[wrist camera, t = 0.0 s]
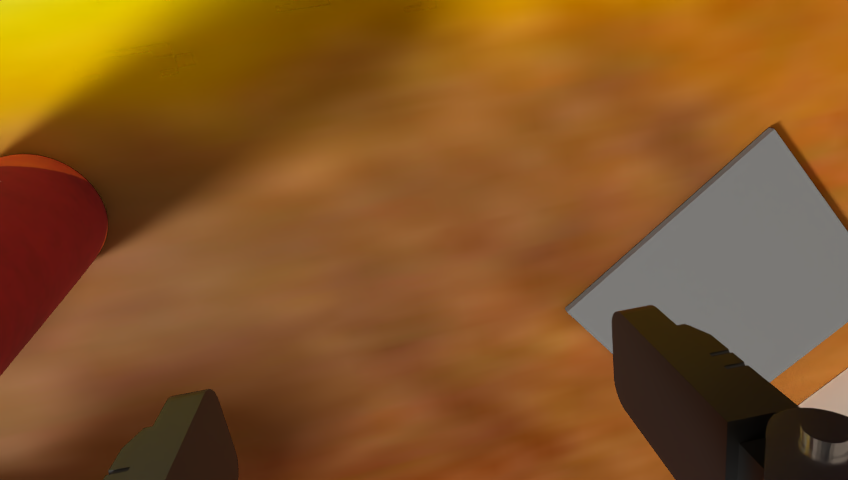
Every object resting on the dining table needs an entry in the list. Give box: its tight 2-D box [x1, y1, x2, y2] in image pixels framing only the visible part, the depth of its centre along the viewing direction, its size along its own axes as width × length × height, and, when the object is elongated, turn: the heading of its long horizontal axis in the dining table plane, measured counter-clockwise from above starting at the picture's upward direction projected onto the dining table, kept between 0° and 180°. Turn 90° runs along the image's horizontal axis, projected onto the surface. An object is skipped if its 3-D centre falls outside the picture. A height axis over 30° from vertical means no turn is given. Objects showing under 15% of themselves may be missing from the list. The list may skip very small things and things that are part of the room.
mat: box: [565, 128, 848, 382], centre depth 32 cm, size 14×14×1 cm
